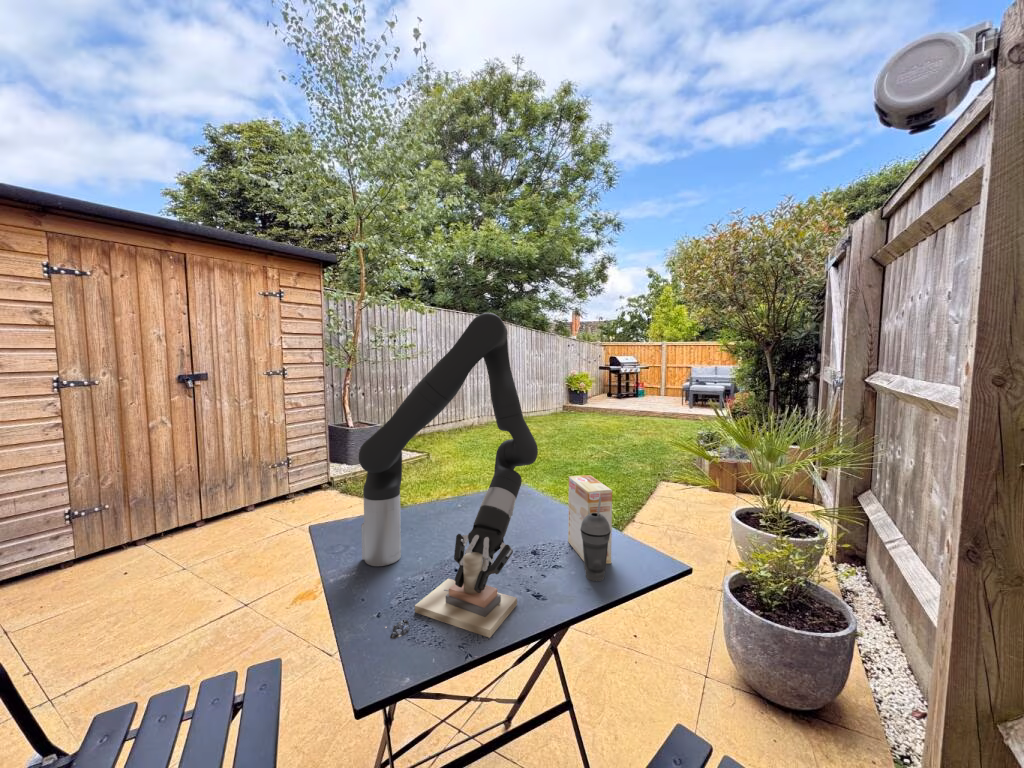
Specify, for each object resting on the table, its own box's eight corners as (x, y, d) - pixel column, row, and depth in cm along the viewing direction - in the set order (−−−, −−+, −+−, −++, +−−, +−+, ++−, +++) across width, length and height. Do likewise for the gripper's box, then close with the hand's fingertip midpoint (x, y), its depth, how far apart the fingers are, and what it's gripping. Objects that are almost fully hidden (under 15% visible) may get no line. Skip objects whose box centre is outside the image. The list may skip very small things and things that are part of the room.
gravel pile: (373, 645, 78) (373, 636, 78) (390, 616, 86) (389, 607, 86) (408, 648, 78) (408, 639, 77) (421, 618, 86) (421, 609, 85)
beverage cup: (588, 566, 107) (589, 489, 105) (615, 575, 102) (616, 495, 101) (574, 577, 101) (574, 496, 100) (601, 587, 96) (602, 503, 95)
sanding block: (445, 602, 88) (445, 556, 87) (462, 588, 93) (462, 545, 92) (485, 617, 83) (485, 568, 82) (500, 601, 88) (500, 556, 87)
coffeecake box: (612, 563, 108) (613, 489, 107) (586, 566, 106) (587, 491, 105) (590, 539, 122) (590, 474, 121) (567, 541, 121) (567, 475, 120)
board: (414, 612, 87) (414, 605, 87) (448, 584, 98) (448, 578, 98) (489, 637, 79) (489, 630, 79) (517, 604, 90) (517, 597, 90)
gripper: (463, 499, 96) (431, 574, 86) (518, 509, 90) (491, 591, 80) (475, 514, 101) (446, 586, 91) (528, 524, 95) (504, 603, 85)
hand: (467, 588), depth 86 cm, fingers closed on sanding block, 4 cm apart
